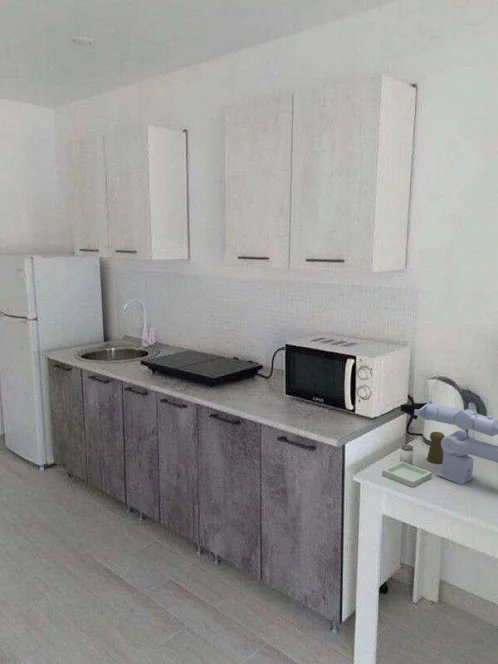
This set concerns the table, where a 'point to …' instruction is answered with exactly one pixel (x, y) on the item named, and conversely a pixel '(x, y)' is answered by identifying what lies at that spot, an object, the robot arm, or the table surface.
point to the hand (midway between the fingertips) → (406, 406)
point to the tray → (407, 474)
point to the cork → (436, 448)
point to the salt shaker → (406, 454)
